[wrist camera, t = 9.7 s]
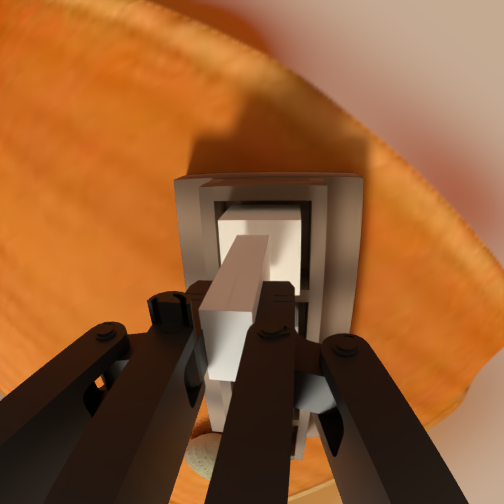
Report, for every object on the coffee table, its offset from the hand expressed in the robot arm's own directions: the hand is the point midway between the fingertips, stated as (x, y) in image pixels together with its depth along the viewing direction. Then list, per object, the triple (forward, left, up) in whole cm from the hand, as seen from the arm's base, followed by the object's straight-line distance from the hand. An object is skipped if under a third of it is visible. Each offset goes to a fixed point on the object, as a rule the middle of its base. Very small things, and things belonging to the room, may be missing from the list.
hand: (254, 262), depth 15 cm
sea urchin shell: (+29, -6, -8) cm, 31 cm away
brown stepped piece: (+9, 0, -8) cm, 12 cm away
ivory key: (0, 0, -4) cm, 4 cm away
